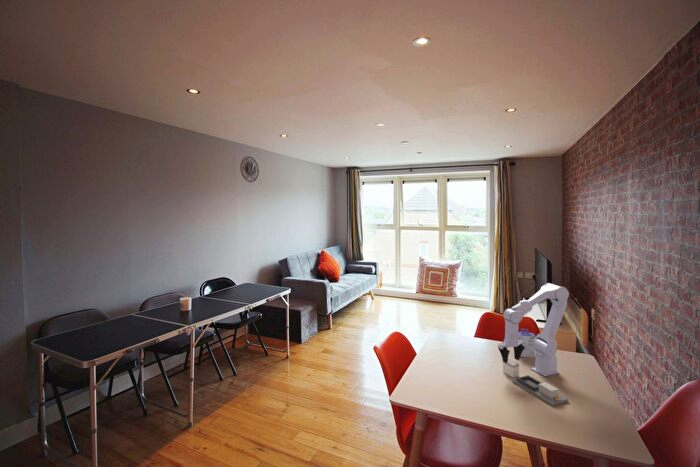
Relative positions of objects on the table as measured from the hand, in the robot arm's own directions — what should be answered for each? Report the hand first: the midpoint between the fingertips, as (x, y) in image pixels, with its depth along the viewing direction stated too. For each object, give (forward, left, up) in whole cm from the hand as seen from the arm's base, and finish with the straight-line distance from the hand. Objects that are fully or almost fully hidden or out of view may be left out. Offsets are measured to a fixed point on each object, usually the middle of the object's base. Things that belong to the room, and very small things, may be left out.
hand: (511, 360), depth 154 cm
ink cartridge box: (-24, -13, -7) cm, 28 cm away
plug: (0, 0, -7) cm, 7 cm away
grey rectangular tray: (+1, +16, -7) cm, 17 cm away
